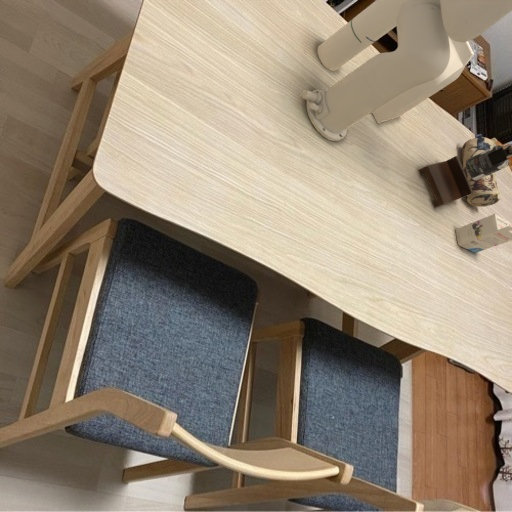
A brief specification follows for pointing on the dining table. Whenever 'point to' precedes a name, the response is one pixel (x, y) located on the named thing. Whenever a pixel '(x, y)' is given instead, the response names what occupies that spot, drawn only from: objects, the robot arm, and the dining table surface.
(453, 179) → the shelf
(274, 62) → the dining table surface
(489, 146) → the pencil case
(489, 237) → the ink box
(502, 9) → the robot arm
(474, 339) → the dining table surface
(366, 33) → the cylindrical container
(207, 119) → the dining table surface
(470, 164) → the pill bottle
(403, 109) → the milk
